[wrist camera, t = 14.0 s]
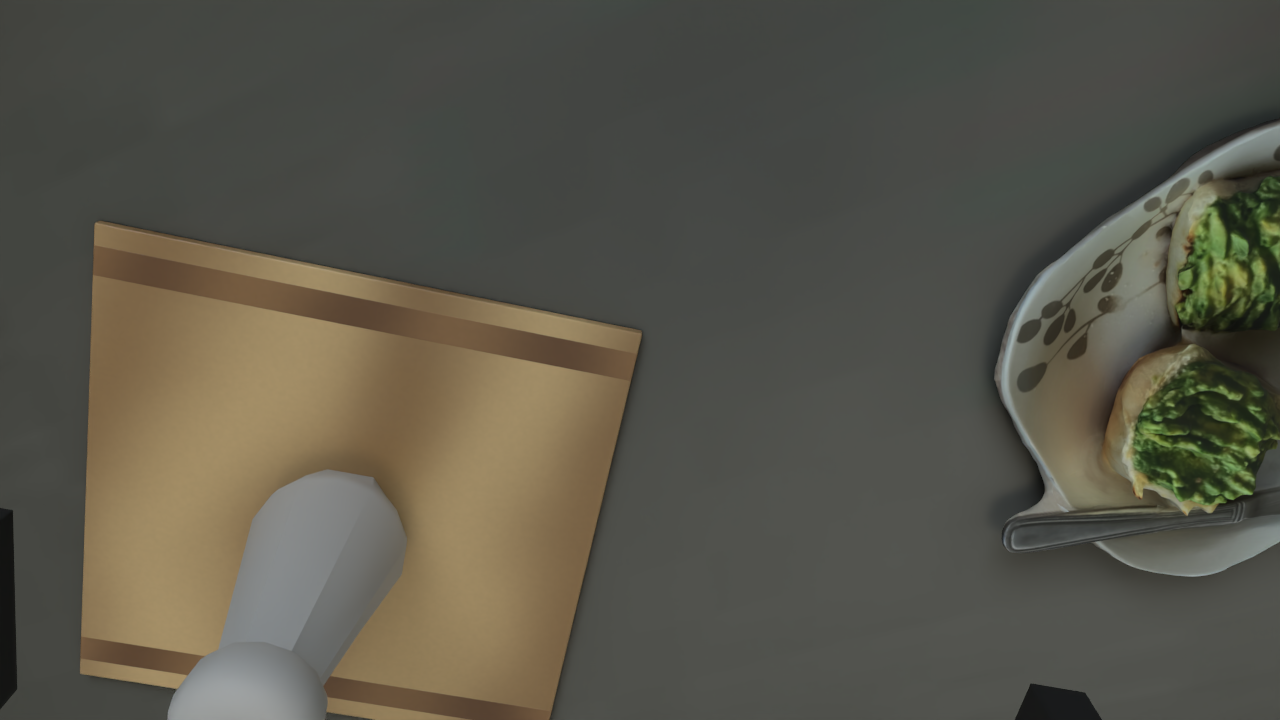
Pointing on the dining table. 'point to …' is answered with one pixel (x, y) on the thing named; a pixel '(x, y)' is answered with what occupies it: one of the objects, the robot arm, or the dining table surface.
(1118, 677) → the dining table surface
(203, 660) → the salt shaker
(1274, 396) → the salad plate
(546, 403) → the placemat
